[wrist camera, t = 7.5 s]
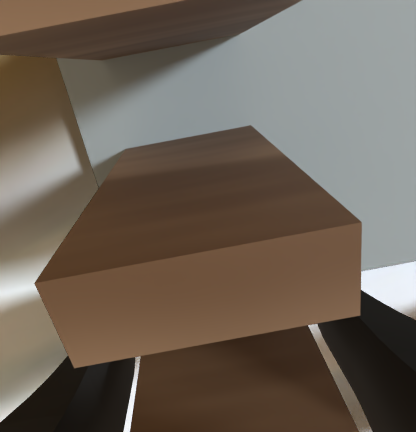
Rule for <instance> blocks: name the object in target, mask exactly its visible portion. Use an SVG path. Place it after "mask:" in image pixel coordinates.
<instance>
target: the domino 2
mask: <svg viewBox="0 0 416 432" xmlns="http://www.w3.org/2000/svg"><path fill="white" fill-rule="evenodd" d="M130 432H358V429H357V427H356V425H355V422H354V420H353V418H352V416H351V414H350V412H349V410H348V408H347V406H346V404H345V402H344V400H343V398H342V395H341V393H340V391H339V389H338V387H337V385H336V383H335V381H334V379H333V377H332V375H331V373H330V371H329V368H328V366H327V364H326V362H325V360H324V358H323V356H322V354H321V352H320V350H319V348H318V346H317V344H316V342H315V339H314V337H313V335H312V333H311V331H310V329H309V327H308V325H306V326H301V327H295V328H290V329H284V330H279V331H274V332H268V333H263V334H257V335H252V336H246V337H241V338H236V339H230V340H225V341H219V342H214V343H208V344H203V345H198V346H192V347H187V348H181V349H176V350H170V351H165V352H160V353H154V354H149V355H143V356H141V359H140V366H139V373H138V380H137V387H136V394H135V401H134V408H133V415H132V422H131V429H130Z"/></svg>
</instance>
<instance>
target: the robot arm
mask: <svg viewBox="0 0 416 432" xmlns="http://www.w3.org/2000/svg"><path fill="white" fill-rule="evenodd" d="M317 324H318V326H319V329H320V331H321V333H322V336H323V338H324V340H325V342H326V343H327V345H328V347H329V349H330V351H331V352H332V354H333V356H334V358H335V359H336V361H337V363H338V365H339V366H340V368H341V370H342V372H343V373H344V375H345V377H346V379H347V380H348V382H349V384H350V386H351V387H352V389H353V391H354V393H355V395H356V397H357V399H358V400H359V402H360V404H361V407H362V409H363V411H364V413H365V415H366V418H367V420H368V422H369V424H370V426H371V429H372V431H373V432H416V320H414V319H412V318H410V317H408V316H406V315H404V314H402V313H400V312H398V311H396V310H394V309H393V308H391V307H389V306H387V305H385V304H383V303H382V302H380V301H378V300H377V299H375V298H373V297H372V296H370V295H368V294H367V293H365V292H363V291H362V290H361V302H360V316H355V317H350V318H344V319H339V320H333V321H328V322H322V323H317ZM134 369H135V357H132V358H127V359H122V360H116V361H111V362H105V363H100V364H95V365H89V366H84V367H78V368H74V367H73V365H72V362H71V360H70V358H69V356H67V357H66V359H65V360H64V361H63V362H62V363H61V364H60V365H59V367H58V368H57V369H56V370H55V371H54V372H53V373H52V374H51V375H50V377H49V378H48V379H47V380H46V381H45V382H44V383H43V384H42V385H41V386H40V387H39V388H38V389H37V390H36V391H35V392H34V393H33V394H32V395H31V396H30V397H29V398H27V399H26V400H25V401H24V402H23V403H22V404H21V405H20V406H19V407H17V408H16V409H15V410H14V411H13V412H12V413H11V414H9V415H8V416H7V417H6V418H5V419H4V420H3V421H1V422H0V432H123V430H124V425H125V419H126V414H127V409H128V404H129V398H130V393H131V388H132V382H133V377H134Z"/></svg>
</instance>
